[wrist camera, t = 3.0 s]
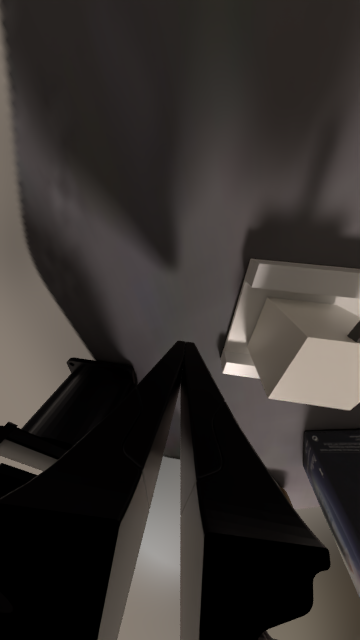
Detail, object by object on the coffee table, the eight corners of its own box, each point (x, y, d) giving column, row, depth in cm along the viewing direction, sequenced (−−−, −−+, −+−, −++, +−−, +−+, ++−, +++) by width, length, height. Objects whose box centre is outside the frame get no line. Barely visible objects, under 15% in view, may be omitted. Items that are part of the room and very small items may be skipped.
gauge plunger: (247, 347, 11) (267, 398, 8) (288, 245, 8) (359, 258, 4) (302, 354, 11) (349, 410, 7) (371, 253, 7) (520, 272, 4)
